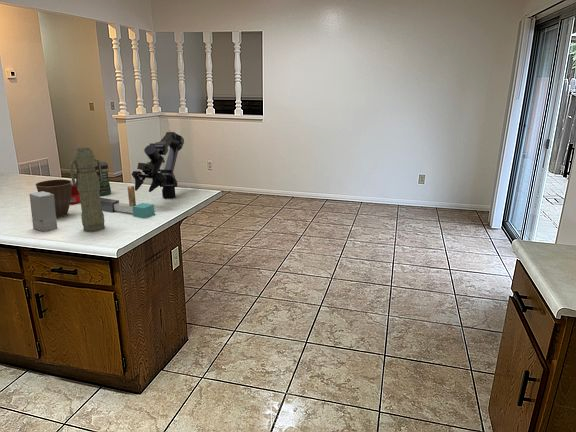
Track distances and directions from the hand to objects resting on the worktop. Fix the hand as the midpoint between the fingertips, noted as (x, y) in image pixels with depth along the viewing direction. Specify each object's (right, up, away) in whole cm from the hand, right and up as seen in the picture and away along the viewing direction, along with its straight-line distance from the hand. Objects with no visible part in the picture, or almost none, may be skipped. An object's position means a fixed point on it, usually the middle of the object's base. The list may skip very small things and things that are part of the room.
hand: (142, 191), depth 210 cm
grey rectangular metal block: (-19, -9, +2) cm, 22 cm away
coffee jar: (-34, 0, +31) cm, 46 cm away
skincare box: (-33, -18, -26) cm, 46 cm away
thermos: (-12, -18, -25) cm, 34 cm away
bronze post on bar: (-7, -10, -3) cm, 12 cm away
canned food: (-41, -6, +14) cm, 44 cm away
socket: (+3, -12, -7) cm, 14 cm away
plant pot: (-38, -12, -7) cm, 40 cm away
